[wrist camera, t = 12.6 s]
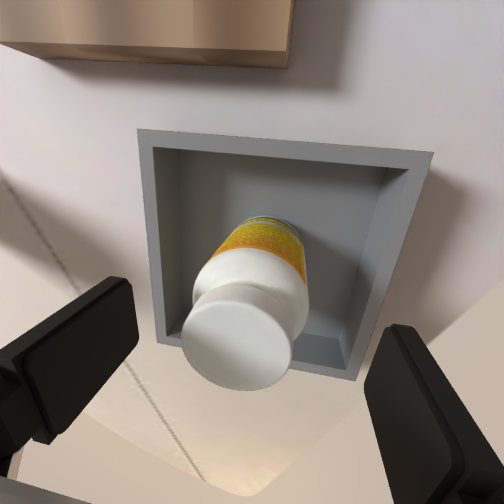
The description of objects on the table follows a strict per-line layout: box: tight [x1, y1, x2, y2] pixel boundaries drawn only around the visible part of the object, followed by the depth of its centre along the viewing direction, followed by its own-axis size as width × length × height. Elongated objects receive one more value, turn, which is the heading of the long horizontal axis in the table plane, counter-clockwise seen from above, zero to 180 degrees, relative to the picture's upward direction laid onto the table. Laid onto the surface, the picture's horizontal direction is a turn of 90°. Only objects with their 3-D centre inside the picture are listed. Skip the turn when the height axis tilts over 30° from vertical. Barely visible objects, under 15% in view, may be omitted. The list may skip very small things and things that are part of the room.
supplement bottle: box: [181, 216, 309, 391], centre depth 13 cm, size 5×5×10 cm
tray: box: [137, 129, 434, 381], centre depth 16 cm, size 14×14×4 cm
